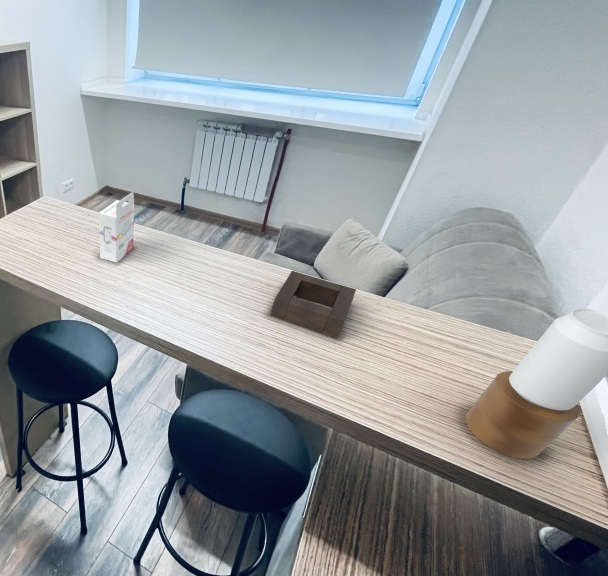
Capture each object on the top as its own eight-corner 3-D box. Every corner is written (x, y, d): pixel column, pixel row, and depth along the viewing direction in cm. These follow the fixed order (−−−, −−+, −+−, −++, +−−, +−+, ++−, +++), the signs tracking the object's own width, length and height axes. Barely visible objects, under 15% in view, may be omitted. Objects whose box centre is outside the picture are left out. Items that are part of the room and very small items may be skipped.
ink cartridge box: (116, 243, 103) (116, 187, 94) (133, 247, 100) (136, 190, 92) (98, 258, 97) (97, 199, 88) (116, 263, 94) (117, 204, 86)
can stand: (349, 305, 80) (356, 289, 78) (337, 338, 72) (345, 321, 70) (287, 286, 86) (291, 270, 84) (270, 315, 78) (274, 298, 76)
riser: (546, 436, 56) (586, 398, 51) (531, 471, 52) (573, 432, 47) (475, 400, 61) (505, 362, 56) (456, 429, 57) (487, 390, 52)
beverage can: (559, 423, 48) (634, 349, 41) (496, 388, 53) (554, 316, 46) (578, 401, 51) (653, 327, 44) (517, 369, 55) (575, 298, 48)
